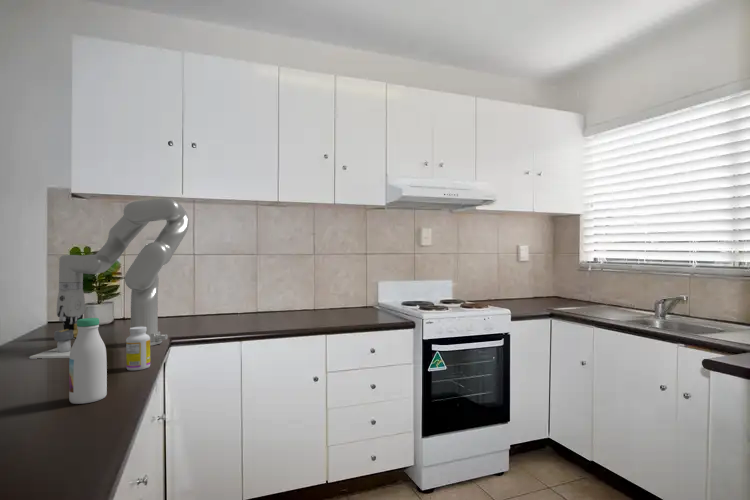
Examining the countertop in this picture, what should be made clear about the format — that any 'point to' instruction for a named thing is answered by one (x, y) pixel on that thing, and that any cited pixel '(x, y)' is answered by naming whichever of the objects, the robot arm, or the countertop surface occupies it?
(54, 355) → the base plate
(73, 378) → the milk bottle
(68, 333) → the grey yellow elongated block
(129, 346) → the supplement bottle
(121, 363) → the countertop surface
